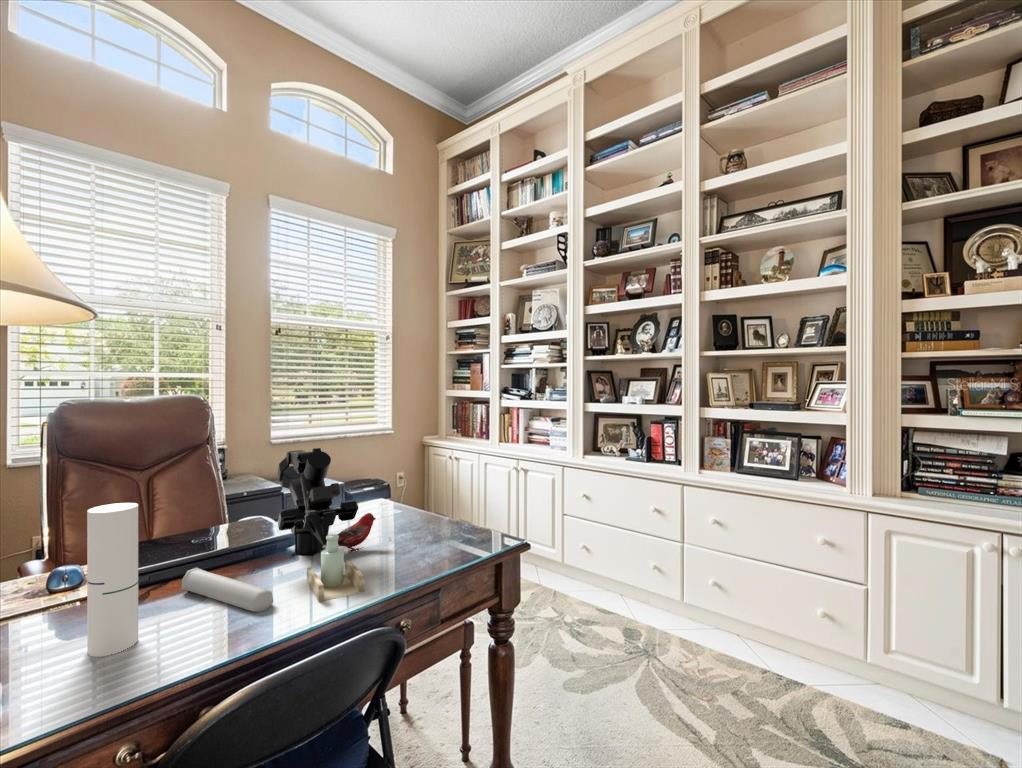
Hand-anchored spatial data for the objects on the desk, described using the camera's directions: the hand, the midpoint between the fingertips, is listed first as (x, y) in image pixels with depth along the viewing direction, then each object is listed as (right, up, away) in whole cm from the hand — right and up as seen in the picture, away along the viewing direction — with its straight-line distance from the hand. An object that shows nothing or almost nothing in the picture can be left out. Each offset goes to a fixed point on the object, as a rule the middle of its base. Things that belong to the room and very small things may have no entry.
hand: (324, 544), depth 121 cm
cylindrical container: (-26, -8, -32) cm, 42 cm away
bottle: (+4, -7, -6) cm, 10 cm away
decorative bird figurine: (+1, -8, +15) cm, 17 cm away
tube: (-16, -8, -14) cm, 23 cm away
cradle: (+5, -8, -8) cm, 12 cm away
